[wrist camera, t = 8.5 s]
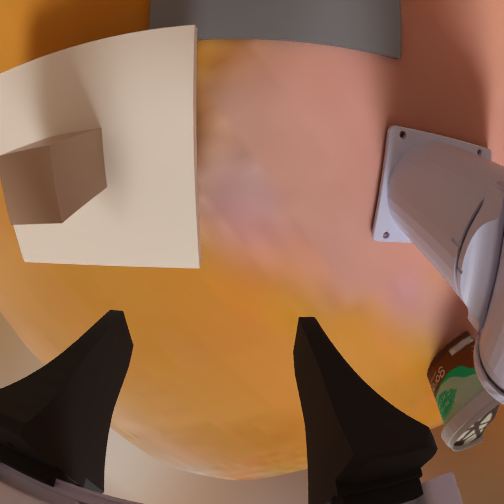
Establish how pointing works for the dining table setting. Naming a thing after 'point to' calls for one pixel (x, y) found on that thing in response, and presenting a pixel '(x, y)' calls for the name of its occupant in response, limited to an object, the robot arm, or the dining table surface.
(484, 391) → the food container
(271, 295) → the dining table surface
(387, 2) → the mat
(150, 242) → the lid
